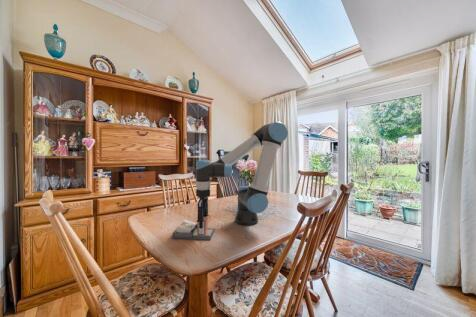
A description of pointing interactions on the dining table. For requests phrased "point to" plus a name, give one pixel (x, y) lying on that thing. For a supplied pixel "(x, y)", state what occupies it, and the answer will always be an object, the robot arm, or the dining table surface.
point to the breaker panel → (194, 234)
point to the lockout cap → (204, 226)
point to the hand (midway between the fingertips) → (203, 230)
